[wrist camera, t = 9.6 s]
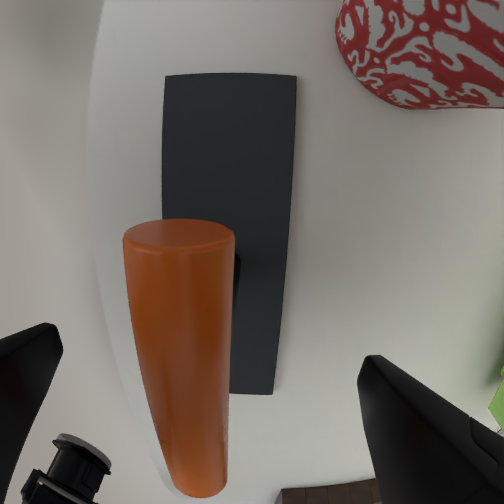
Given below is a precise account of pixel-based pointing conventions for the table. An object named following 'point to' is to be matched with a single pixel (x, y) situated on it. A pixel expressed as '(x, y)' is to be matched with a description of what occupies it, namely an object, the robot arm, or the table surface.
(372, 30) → the mug
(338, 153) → the table surface
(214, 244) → the t handle
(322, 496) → the tool rack
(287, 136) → the mat
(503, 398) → the light green square pot
